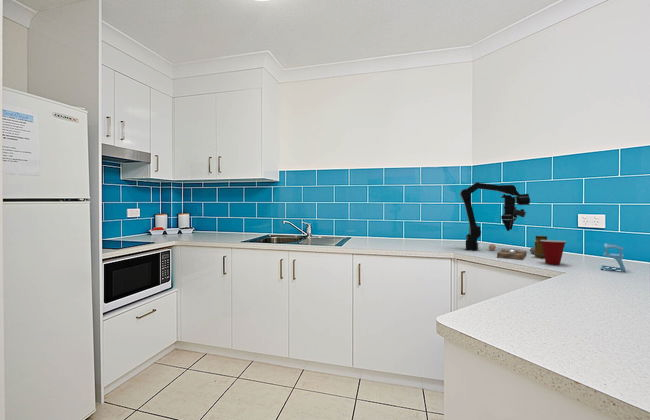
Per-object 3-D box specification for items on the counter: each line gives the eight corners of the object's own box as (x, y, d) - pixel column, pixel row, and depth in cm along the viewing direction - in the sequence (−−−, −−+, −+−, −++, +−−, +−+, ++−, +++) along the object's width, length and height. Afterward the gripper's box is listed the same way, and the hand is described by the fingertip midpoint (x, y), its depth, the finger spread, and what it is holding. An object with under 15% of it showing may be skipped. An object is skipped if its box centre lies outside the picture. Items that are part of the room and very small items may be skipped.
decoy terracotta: (488, 250, 193) (488, 244, 193) (489, 249, 196) (489, 243, 196) (495, 251, 191) (495, 244, 190) (496, 250, 194) (496, 243, 194)
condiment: (536, 255, 173) (536, 234, 173) (554, 258, 167) (554, 236, 166) (531, 257, 169) (531, 236, 168) (550, 259, 162) (550, 237, 162)
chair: (626, 273, 133) (627, 245, 132) (600, 270, 138) (601, 243, 138) (625, 269, 138) (626, 243, 138) (600, 267, 144) (601, 241, 143)
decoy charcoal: (529, 254, 179) (529, 247, 179) (530, 253, 182) (530, 246, 182) (537, 254, 177) (537, 247, 176) (538, 253, 180) (538, 246, 180)
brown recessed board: (497, 257, 170) (497, 253, 170) (502, 253, 183) (502, 249, 183) (522, 259, 163) (522, 255, 163) (526, 255, 175) (526, 251, 175)
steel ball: (507, 256, 173) (507, 249, 172) (508, 255, 176) (508, 248, 175) (515, 257, 170) (515, 250, 170) (516, 256, 173) (516, 249, 173)
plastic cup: (563, 262, 156) (563, 238, 155) (569, 266, 146) (569, 241, 145) (537, 260, 160) (537, 238, 160) (541, 264, 151) (541, 240, 150)
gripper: (523, 205, 177) (522, 232, 177) (526, 204, 191) (526, 229, 192) (501, 205, 184) (501, 231, 184) (506, 204, 198) (506, 228, 199)
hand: (509, 230), depth 190 cm, fingers open, 9 cm apart
